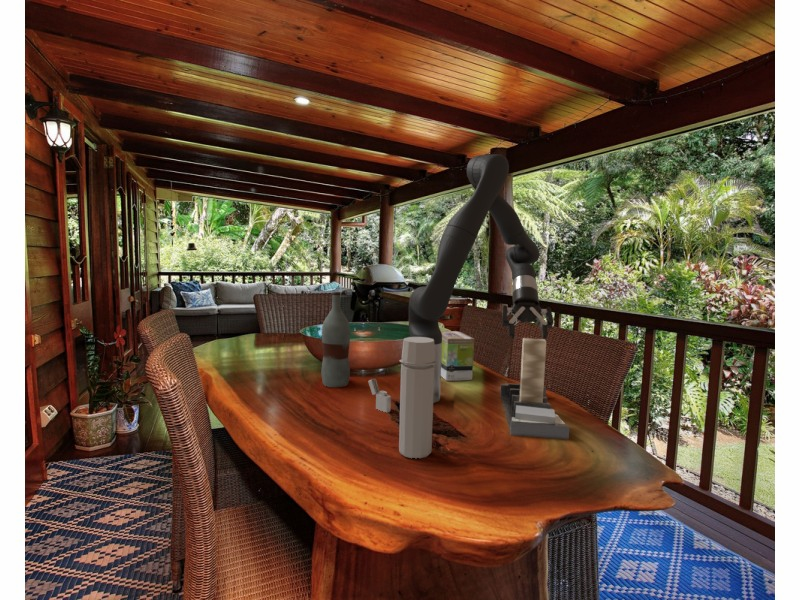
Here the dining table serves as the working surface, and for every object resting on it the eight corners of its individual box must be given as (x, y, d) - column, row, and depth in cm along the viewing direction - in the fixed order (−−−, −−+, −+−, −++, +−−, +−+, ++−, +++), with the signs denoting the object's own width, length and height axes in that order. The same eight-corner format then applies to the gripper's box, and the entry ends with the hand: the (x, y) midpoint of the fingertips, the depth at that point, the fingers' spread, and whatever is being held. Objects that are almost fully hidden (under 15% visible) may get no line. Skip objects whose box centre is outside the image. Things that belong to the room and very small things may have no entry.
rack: (510, 441, 106) (511, 418, 105) (499, 398, 136) (500, 380, 136) (568, 445, 104) (569, 422, 104) (544, 401, 135) (545, 383, 134)
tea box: (473, 380, 156) (475, 337, 154) (445, 381, 153) (447, 338, 152) (457, 369, 170) (459, 330, 168) (432, 370, 168) (433, 330, 166)
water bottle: (430, 462, 94) (434, 344, 91) (393, 458, 96) (396, 341, 93) (436, 444, 103) (439, 336, 100) (402, 440, 105) (405, 333, 102)
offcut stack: (514, 434, 106) (515, 415, 106) (511, 422, 114) (512, 404, 113) (565, 438, 105) (566, 419, 104) (558, 425, 112) (559, 408, 112)
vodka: (330, 389, 141) (330, 293, 138) (315, 382, 148) (316, 291, 145) (355, 384, 147) (356, 292, 144) (340, 378, 154) (341, 290, 151)
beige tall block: (520, 415, 119) (524, 340, 116) (518, 411, 122) (522, 338, 119) (541, 417, 118) (546, 341, 116) (539, 413, 121) (544, 339, 119)
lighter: (390, 411, 124) (391, 382, 123) (386, 412, 122) (387, 384, 122) (371, 405, 128) (372, 377, 127) (367, 406, 127) (368, 378, 126)
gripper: (502, 284, 136) (503, 328, 126) (551, 286, 134) (557, 331, 124) (500, 300, 142) (501, 343, 132) (547, 302, 140) (552, 346, 130)
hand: (528, 337), depth 128 cm, fingers open, 8 cm apart
